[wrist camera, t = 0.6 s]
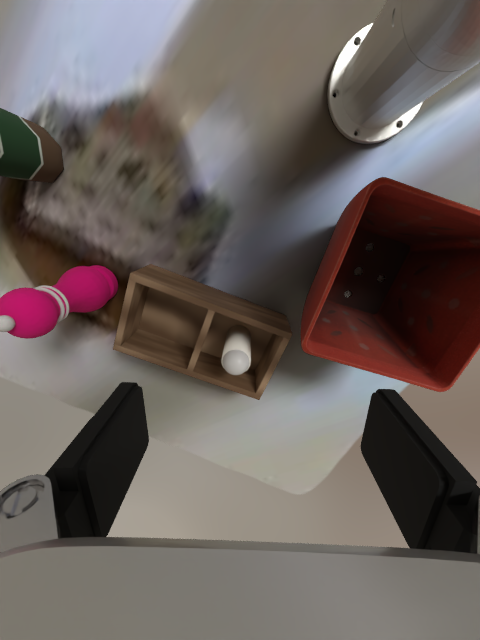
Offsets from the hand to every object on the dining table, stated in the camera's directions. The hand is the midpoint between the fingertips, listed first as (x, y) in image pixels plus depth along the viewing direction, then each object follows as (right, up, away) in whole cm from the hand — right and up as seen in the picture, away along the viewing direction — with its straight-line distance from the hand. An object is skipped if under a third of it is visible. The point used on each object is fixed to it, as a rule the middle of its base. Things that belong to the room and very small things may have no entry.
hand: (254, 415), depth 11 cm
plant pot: (+19, +12, +33) cm, 40 cm away
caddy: (-6, +3, +37) cm, 38 cm away
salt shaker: (-1, +1, +37) cm, 37 cm away
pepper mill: (-25, +10, +35) cm, 44 cm away
